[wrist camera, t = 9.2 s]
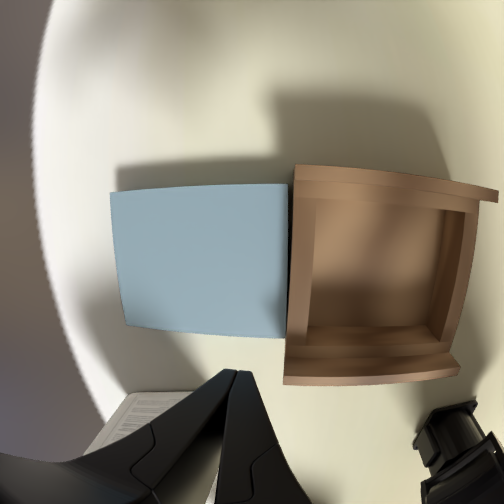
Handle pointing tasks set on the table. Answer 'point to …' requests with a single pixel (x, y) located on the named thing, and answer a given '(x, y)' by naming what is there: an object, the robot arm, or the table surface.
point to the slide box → (376, 275)
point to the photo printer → (135, 415)
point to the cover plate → (203, 258)
